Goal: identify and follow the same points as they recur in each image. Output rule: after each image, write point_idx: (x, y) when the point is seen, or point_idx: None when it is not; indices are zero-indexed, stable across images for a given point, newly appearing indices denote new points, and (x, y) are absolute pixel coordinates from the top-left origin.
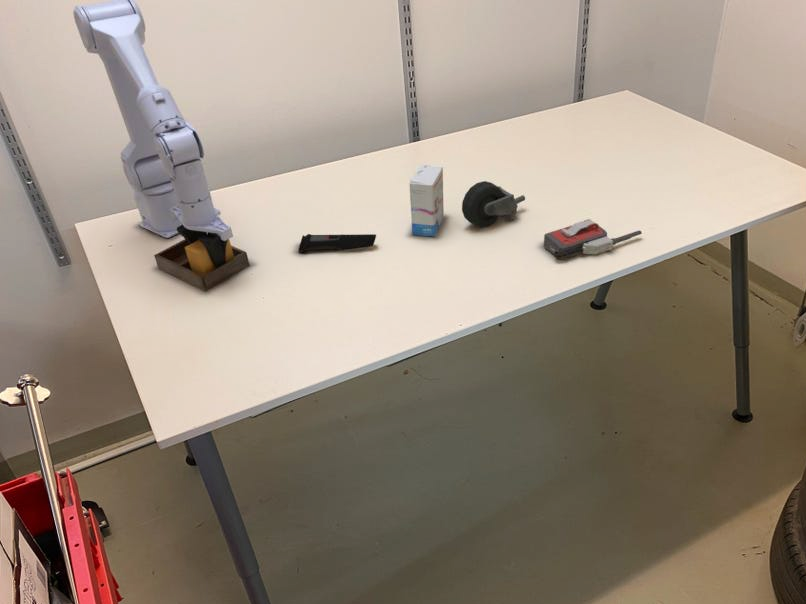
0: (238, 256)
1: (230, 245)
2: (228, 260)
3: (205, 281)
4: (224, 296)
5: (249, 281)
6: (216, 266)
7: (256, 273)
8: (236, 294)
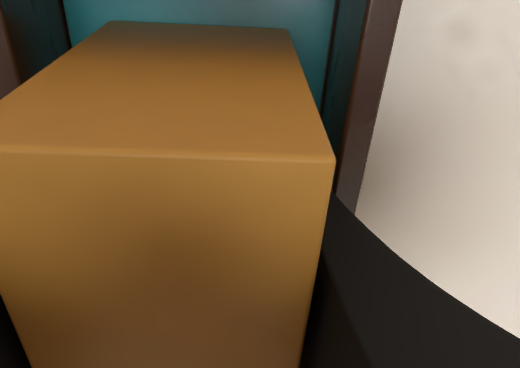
0: (386, 68)
1: (311, 104)
2: (340, 162)
3: None
4: (427, 266)
5: (489, 109)
6: None
7: (489, 4)
8: (480, 230)
